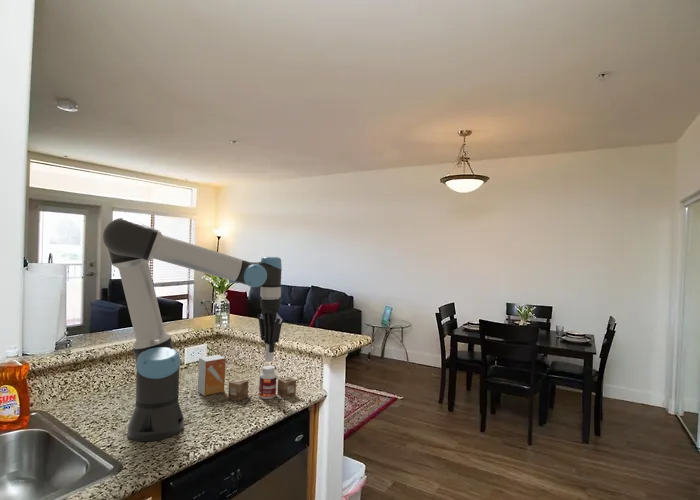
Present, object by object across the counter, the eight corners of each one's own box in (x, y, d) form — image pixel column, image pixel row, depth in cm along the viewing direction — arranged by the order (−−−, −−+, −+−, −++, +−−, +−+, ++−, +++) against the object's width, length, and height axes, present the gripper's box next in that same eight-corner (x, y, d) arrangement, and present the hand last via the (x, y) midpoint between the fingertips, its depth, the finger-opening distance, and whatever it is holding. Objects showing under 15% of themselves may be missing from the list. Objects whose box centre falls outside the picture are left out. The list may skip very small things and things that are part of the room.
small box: (204, 396, 146) (205, 361, 146) (197, 391, 150) (198, 357, 150) (224, 391, 151) (226, 357, 151) (217, 387, 156) (218, 354, 156)
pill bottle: (262, 400, 143) (263, 370, 143) (256, 395, 149) (257, 366, 149) (278, 397, 147) (279, 368, 147) (272, 392, 152) (273, 364, 152)
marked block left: (238, 401, 143) (239, 384, 143) (227, 398, 145) (228, 381, 145) (248, 396, 147) (248, 379, 147) (237, 394, 149) (238, 377, 149)
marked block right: (284, 398, 146) (285, 382, 146) (277, 394, 150) (278, 378, 150) (296, 396, 149) (296, 379, 149) (288, 392, 153) (289, 376, 153)
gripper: (289, 298, 146) (288, 362, 146) (267, 295, 155) (266, 355, 155) (273, 300, 141) (272, 366, 141) (251, 297, 149) (250, 359, 149)
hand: (269, 360), depth 148 cm, fingers closed
